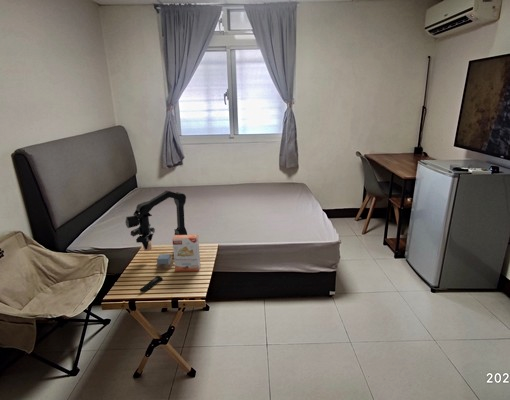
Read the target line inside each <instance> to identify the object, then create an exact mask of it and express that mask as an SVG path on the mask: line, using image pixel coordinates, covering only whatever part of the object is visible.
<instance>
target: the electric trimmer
mask: <svg viewBox="0 0 510 400" xmlns="http://www.w3.org/2000/svg"><path fill="white" fill-rule="evenodd" d="M160 281H163V277H162V276H161V275H157V276H155V277H154V278H153V279H151V280H150V281H148V283H146V284H144V286H141V287H140V289H139V291H140V292H143V293H145V292H147V291H148V290H150V289H151V288H153V286H154V285H156V284H157V283H159V282H160Z"/></svg>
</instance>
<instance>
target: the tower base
mask: <svg viewBox="0 0 510 400" xmlns="http://www.w3.org/2000/svg"><path fill="white" fill-rule="evenodd" d="M173 265H174V257H173V258H172V257H171V260H170V262H169V264H157V263H156V264H155V267H156V271H159V270H161V271H162V270H163V271H164V270H171V269H170V268H172V266H173Z"/></svg>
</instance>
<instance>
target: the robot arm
mask: <svg viewBox="0 0 510 400" xmlns="http://www.w3.org/2000/svg"><path fill="white" fill-rule="evenodd" d="M169 198H170V199H173V201H174V204H175V206H176V224H177V225H176V228H175V229H174V236H175V235H188V231H187V229H186V225H185V204H186V201H187V200H186V199H187V197H186V195H185V193H182V192H179V191H178V192H177V191H176V192H174V191H171V190H164V192H162V193H160V194H158V195H157V196H155V197H153V198H152V199H150V200H148V201H144V202H140V203H138V204H137V205H136V208H135V211H134V213H133V214H132V215H130V216H126V217H125V222H124V223H125V226H126V228H127V229H130V228H135V227H137V228H135V229H132V230H131V231H130V236H132V237H133V238H134V237H136V236H137V238H136V239H135V241H136V244H137V243H141V244H142V247H143V246H144V248H145V249H147V248H148V244H149V240H150V241H151V242H152V239H153V236H154V233H155V232H156V231H155V230H156V229H155V228H154V227H151V223H150V219H149V217H152V216H153V215H152V214H151V213H150V212H151V211H152V209H153V208H154V207H155V206H157V205H159V204H161V203H162V202H164V201H166V200H167V199H169Z"/></svg>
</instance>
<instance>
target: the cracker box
mask: <svg viewBox="0 0 510 400" xmlns="http://www.w3.org/2000/svg"><path fill="white" fill-rule="evenodd" d="M171 241H172V249H173V251H172V252H173V262H174V267H175V272H199V271H200V268H201V254H200V253H201V252H200V244H199V243H200V241H199V234H187V235H174V236H173V237H172V239H171Z"/></svg>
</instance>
